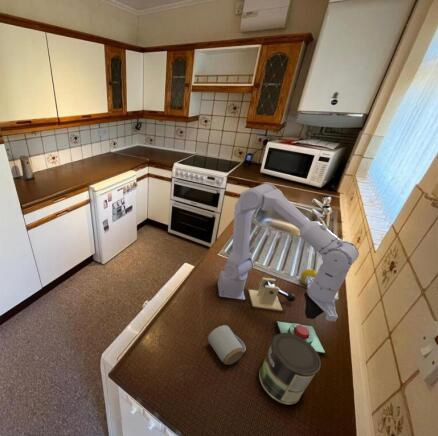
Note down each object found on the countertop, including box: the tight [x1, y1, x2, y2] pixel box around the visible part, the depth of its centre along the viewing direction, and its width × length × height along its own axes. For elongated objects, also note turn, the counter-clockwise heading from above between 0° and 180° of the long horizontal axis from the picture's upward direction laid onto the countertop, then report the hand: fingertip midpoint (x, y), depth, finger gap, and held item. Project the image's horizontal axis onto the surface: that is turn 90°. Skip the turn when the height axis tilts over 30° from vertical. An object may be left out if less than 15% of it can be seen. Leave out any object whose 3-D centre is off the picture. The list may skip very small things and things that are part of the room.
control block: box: [275, 320, 326, 355], centre depth 75 cm, size 11×9×3 cm
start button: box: [295, 324, 309, 339], centre depth 74 cm, size 4×4×2 cm
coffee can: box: [258, 332, 322, 405], centre depth 61 cm, size 10×10×14 cm
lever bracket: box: [248, 277, 283, 312], centre depth 87 cm, size 10×8×9 cm
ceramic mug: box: [207, 324, 247, 366], centre depth 70 cm, size 11×8×8 cm
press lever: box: [263, 281, 296, 303], centre depth 86 cm, size 12×3×3 cm, turn 81°
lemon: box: [300, 268, 318, 286], centre depth 95 cm, size 6×6×8 cm
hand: (309, 316), depth 71 cm, fingers closed
